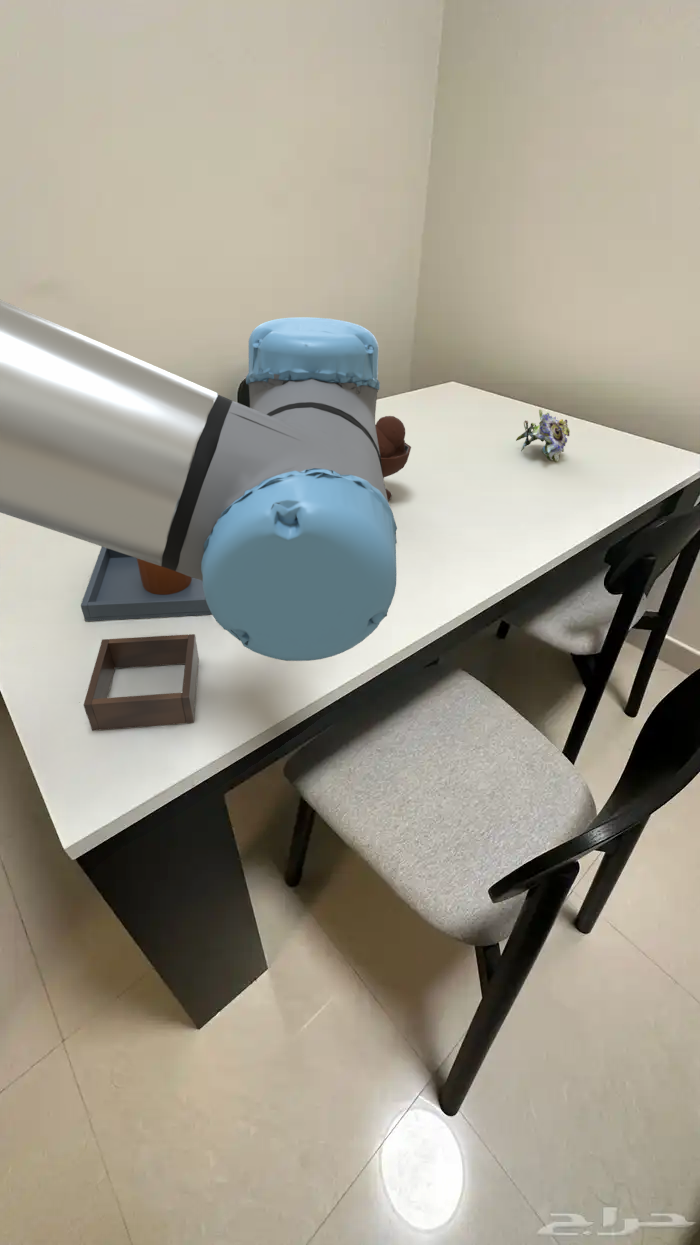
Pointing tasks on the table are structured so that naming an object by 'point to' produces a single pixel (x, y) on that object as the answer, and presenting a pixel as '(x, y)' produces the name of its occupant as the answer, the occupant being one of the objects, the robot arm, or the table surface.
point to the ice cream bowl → (391, 446)
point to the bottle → (161, 579)
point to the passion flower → (547, 435)
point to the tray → (134, 593)
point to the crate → (143, 707)
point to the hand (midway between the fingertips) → (162, 426)
